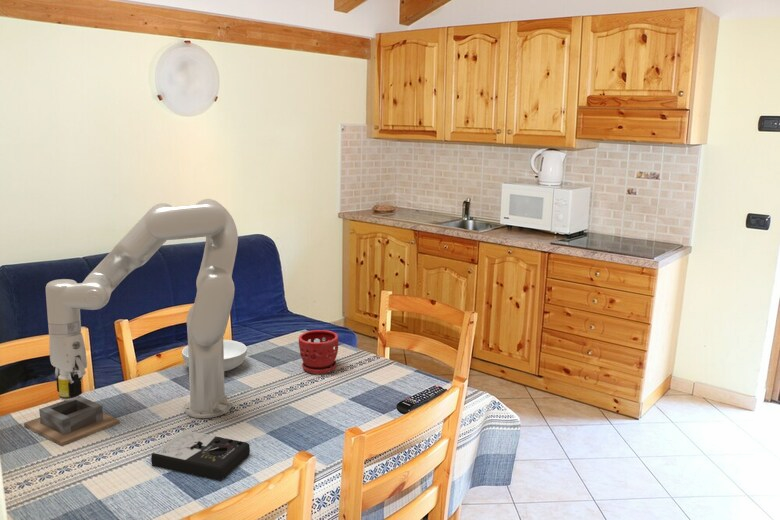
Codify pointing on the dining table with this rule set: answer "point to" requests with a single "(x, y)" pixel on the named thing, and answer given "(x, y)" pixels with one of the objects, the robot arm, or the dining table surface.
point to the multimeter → (201, 455)
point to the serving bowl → (226, 354)
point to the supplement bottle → (65, 385)
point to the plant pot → (318, 351)
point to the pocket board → (72, 434)
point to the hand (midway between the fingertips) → (69, 392)
